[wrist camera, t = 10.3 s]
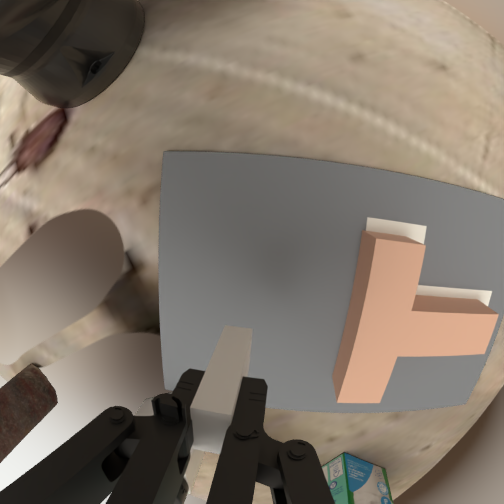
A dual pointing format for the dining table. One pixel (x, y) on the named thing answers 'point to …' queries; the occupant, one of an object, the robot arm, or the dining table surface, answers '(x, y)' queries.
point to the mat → (312, 269)
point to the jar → (194, 461)
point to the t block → (400, 319)
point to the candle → (23, 406)
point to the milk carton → (357, 481)
